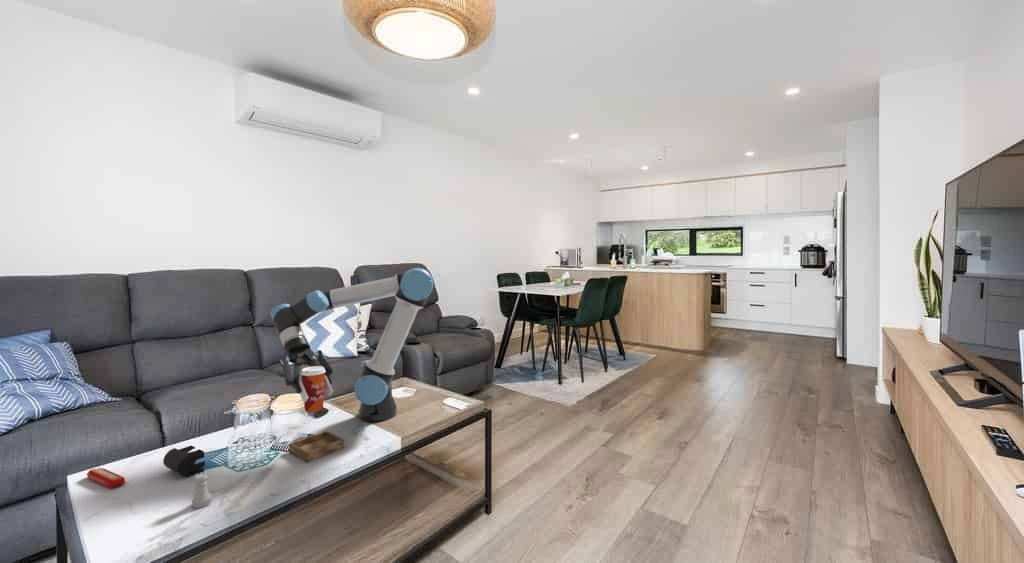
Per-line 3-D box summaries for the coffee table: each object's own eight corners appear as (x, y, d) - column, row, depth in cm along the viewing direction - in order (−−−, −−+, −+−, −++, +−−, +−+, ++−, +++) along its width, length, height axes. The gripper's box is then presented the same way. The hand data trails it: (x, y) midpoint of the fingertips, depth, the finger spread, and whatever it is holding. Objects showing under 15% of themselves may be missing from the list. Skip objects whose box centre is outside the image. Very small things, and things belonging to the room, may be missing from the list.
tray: (326, 438, 149) (326, 430, 149) (344, 448, 142) (344, 439, 142) (289, 452, 139) (288, 443, 139) (306, 463, 132) (305, 453, 132)
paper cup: (316, 414, 135) (315, 372, 134) (296, 412, 137) (295, 370, 136) (331, 406, 143) (330, 366, 142) (312, 404, 144) (311, 364, 143)
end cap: (163, 473, 126) (162, 451, 126) (190, 463, 132) (189, 442, 132) (178, 482, 121) (177, 459, 121) (206, 471, 127) (204, 450, 127)
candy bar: (128, 485, 120) (127, 475, 120) (111, 492, 117) (110, 481, 116) (101, 473, 127) (100, 464, 126) (84, 479, 123) (84, 469, 123)
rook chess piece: (189, 510, 107) (187, 481, 107) (194, 501, 111) (192, 472, 111) (209, 506, 109) (208, 477, 109) (214, 497, 113) (212, 469, 113)
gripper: (320, 343, 156) (343, 394, 147) (260, 354, 140) (283, 411, 131) (326, 331, 152) (351, 382, 143) (266, 340, 136) (290, 399, 127)
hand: (318, 396), depth 137 cm, fingers closed on paper cup, 8 cm apart
